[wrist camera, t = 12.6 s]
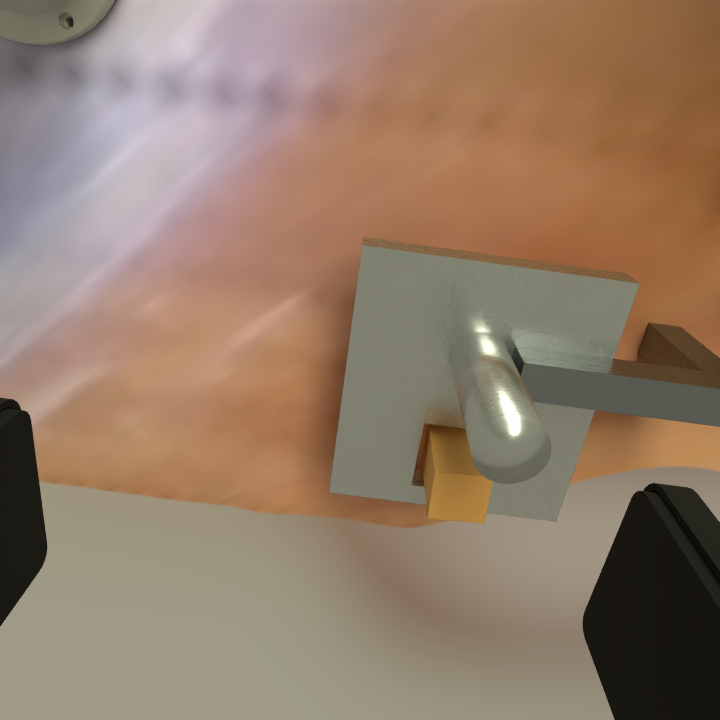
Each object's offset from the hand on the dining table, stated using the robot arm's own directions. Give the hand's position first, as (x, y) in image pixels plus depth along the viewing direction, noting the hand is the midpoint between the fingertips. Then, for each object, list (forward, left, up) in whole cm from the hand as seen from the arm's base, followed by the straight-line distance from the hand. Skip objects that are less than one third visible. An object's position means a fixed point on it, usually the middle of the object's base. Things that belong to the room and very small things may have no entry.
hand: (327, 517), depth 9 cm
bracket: (+17, -8, -33) cm, 38 cm away
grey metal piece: (+8, -11, -33) cm, 36 cm away
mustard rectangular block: (+8, -16, -33) cm, 38 cm away
